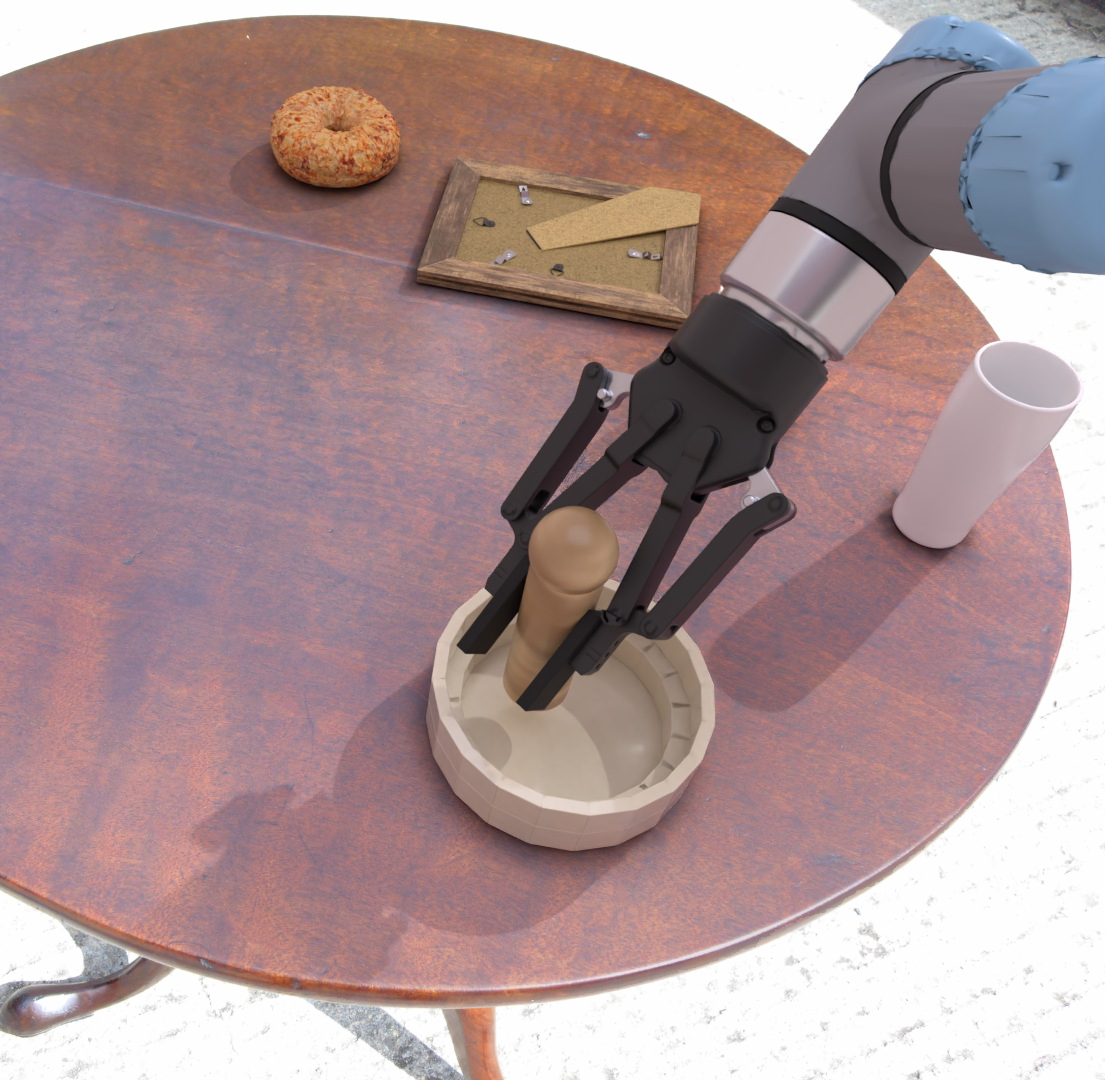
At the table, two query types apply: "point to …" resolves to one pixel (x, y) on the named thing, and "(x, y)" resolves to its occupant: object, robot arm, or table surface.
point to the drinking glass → (985, 439)
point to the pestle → (558, 590)
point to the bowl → (571, 736)
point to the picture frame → (565, 242)
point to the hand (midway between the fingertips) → (500, 676)
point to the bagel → (334, 137)
